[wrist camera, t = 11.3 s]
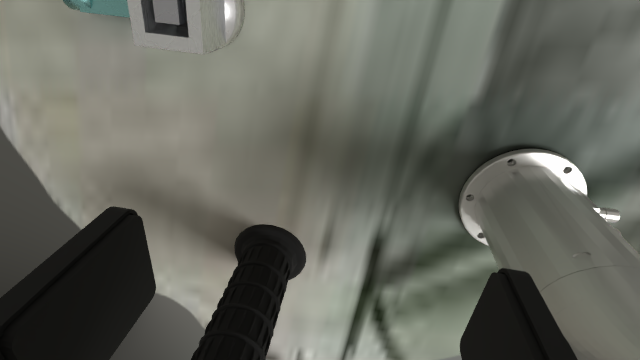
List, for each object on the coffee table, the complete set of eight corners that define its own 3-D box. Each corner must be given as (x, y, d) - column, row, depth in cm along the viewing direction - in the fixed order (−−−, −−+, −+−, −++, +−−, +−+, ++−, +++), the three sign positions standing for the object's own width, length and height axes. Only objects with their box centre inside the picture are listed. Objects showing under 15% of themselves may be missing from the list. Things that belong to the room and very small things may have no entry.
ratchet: (243, -40, 31) (212, -47, 25) (245, 53, 35) (218, 68, 29) (72, -58, 32) (2, -68, 26) (93, 35, 36) (36, 45, 30)
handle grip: (228, 223, 46) (240, 278, 50) (84, 460, 23) (131, 520, 28) (303, 226, 44) (307, 283, 49) (229, 483, 21) (251, 541, 26)
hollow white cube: (223, -28, 29) (197, -30, 25) (226, 45, 32) (203, 54, 28) (157, -36, 29) (120, -39, 25) (166, 37, 32) (134, 45, 28)
